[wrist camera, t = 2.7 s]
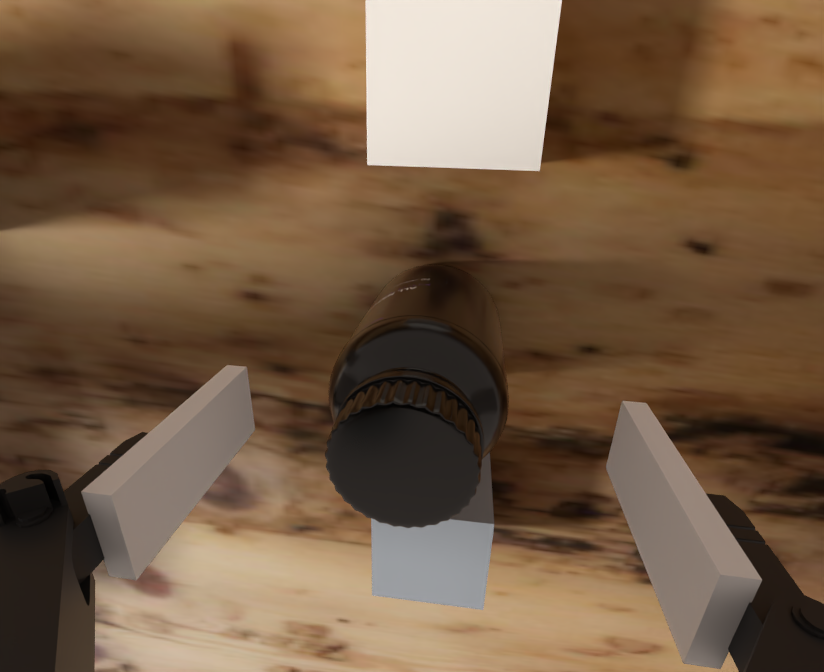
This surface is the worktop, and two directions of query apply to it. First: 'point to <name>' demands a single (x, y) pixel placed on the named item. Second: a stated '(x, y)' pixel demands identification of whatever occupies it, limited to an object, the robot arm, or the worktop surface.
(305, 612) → the worktop surface
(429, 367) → the supplement bottle
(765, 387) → the worktop surface
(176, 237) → the worktop surface
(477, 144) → the off-white block
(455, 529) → the slate-grey block
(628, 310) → the worktop surface
